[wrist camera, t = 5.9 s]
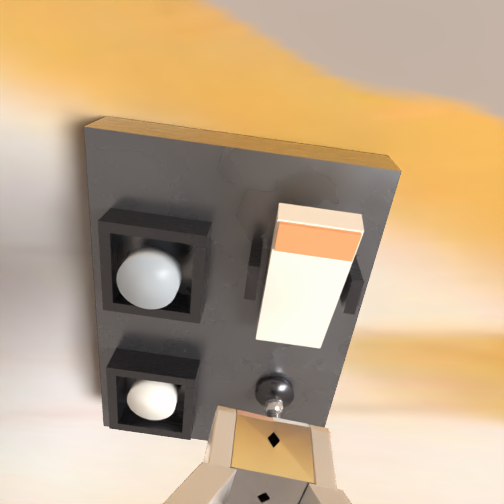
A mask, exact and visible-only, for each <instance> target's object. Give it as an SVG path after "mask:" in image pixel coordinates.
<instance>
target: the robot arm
mask: <svg viewBox="0 0 504 504" xmlns="http://www.w3.org/2000/svg"><path fill="white" fill-rule="evenodd" d="M163 504H352V503H351V502H350V500H349V499H348V497H347V496H346V494H345V493H344V492H343V490H340V489H337V486H336V478H335V469H334V461H333V453H332V445H331V437H330V431H329V430H328V428H324V427H319V426H314V425H308V424H306V423H301V422H296V421H290V420H285V419H280V418H275V417H272V418H271V417H267V416H263V415H259V414H254V413H250V412H246V411H242V410H236V409H232V408H228V407H223V406H219V405H218V406H217V409H216V412H215V416H214V420H213V423H212V427H211V431H210V435H209V439H208V444H207V448H206V452H205V458H204V462H202V463H201V464H200V465H199V466H198V467H197V468H196V469H195V470H194V471H193V472H192V473H191V475H190V476H189V477H188V478H187V479H186V480H185V481H184V482H183V483H182V484H181V485H180V486H179V487H178V488H177V489H176V490H175V491H174V493H173V494H172V495H171V496H170V497H169V498H168V499H167V500H166V501H165V502H164V503H163Z"/></svg>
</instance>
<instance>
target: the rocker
mask: <svg viewBox="0 0 504 504" xmlns="http://www.w3.org/2000/svg"><path fill="white" fill-rule="evenodd" d="M363 233H364V227H363V220H362V214H356V213H349V212H341V211H334V210H327V209H320V208H313V207H306V206H299V205H292V204H285V203H279V206H278V211H277V217H276V222H275V228H274V234H273V239H272V245H271V250H270V256H269V261H268V267H267V273H266V278H265V284H264V289H263V295H262V300H261V306H260V311H259V317H258V323H257V332H256V339H257V340H264V341H271V342H278V343H285V344H292V345H299V346H306V347H313V348H321V345H322V342H323V340H324V337H325V334H326V332H327V329H328V326H329V324H330V321H331V318H332V316H333V313H334V310H335V308H336V305H337V302H338V300H339V297H340V294H341V292H342V289H343V286H344V284H345V281H346V278H347V276H348V273H349V270H350V268H351V265H352V262H353V260H354V257H355V254H356V252H357V249H358V246H359V244H360V241H361V238H362V236H363Z"/></svg>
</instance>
